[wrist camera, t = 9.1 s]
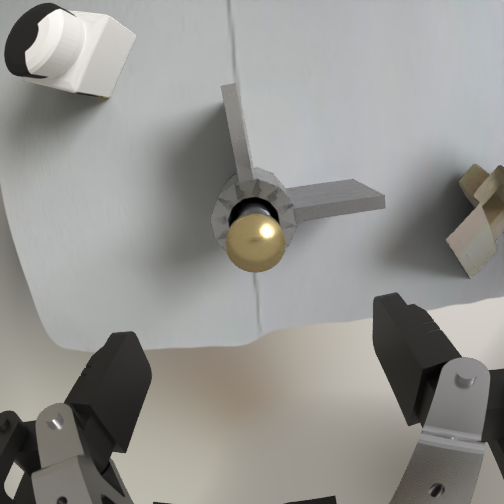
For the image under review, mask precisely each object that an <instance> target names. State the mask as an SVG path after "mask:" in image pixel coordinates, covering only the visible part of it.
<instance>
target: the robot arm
mask: <svg viewBox="0 0 504 504" xmlns="http://www.w3.org/2000/svg"><path fill="white" fill-rule="evenodd" d="M373 345H374V349H375V353H376V355H377V357H378V359H379V361H380V363H381V366H382V368H383V370H384V372H385V374H386V376H387V378H388V381H389V383H390V385H391V387H392V390H393V392H394V394H395V396H396V398H397V401H398V403H399V406H400V408H401V410H402V412H403V415H404V417H405V419H406V422H407V424H408V426H411V425H414V424H417V423H421V426H422V428H423V430H422V432H421V435H420V437H419V440H418V442H417V445H416V447H415V450H414V452H413V454H412V457H411V459H410V461H409V464H408V466H407V469H406V470H405V473H404V475H403V477H402V479H401V481H400V484H399V485H398V487H397V489H396V491H395V493H394V495H393V497H392V499H391V501H390V503H389V504H470V502H471V499H472V496H473V493H474V490H475V486H476V483H477V480H478V476H479V472H480V468H481V464H482V460H483V456H484V451H485V442H488V444H489V446H490V448H491V451H492V453H493V455H494V457H495V460H496V462H497V464H498V467H499V469H500V471H501V474H502V476H503V479H504V369H497V370H488V369H487V367H486V366H485V365H484V364H483V363H481V362H480V361H478V360H475V359H473V358H466V357H462V356H461V355H460V354H459V352H458V351H457V350H456V348H455V347H454V346H453V344H452V343H451V342H450V340H449V339H448V338H447V337H446V335H445V334H444V333H443V331H441V330H440V328H439V326H438V325H437V324H436V323H435V322H434V320H433V319H432V318H431V316H430V315H429V314H428V313H427V311H426V310H424V309H422V308H420V307H418V306H417V305H415V304H411V305H407V304H406V303H405V301H404V300H403V299H402V298H401V296H400V295H399V294H398V293H391V294H386V295H382V296H377V297H375V298H374V302H373ZM151 379H152V373H151V368H150V364H149V362H148V360H147V358H146V356H145V354H144V351H143V349H142V347H141V345H140V342H139V340H138V338H137V336H136V334H135V333H134V332H132V331H129V332H117V333H112V334H111V335H110V337H109V338H108V340H107V342H106V343H105V345H104V346H103V347H102V348H101V349H99V350H98V351H97V352H96V353H95V354H94V355H93V356H92V357H91V359H90V360H89V362H88V363H87V365H86V368H84V370H83V371H82V373H81V376H79V378H78V380H77V381H76V383H75V385H74V386H73V388H72V390H71V391H70V393H69V395H68V397H67V398H66V400H65V402H64V403H56V404H53V405H51V406H48V407H47V408H45V409H44V410H43V411H42V412H41V413H40V414H39V416H38V418H37V420H36V421H29V422H22V421H21V419H20V418H19V417H18V415H17V414H16V413H15V412H13V411H4V412H2V413H0V504H134V503H133V501H132V500H131V497H130V495H129V494H128V491H127V489H126V488H125V486H124V483H123V481H122V479H121V477H120V475H119V473H118V470H117V468H116V466H115V464H114V462H113V460H112V459H111V458H110V456H111V454H112V452H119V453H126V451H127V448H128V446H129V442H130V440H131V437H132V434H133V431H134V428H135V425H136V422H137V419H138V417H139V414H140V410H141V408H142V405H143V403H144V400H145V397H146V394H147V391H148V389H149V386H150V383H151ZM13 462H15V463H16V464H17V465H18V466H19V467H20V468H21V469H22V470H23V471H24V475H23V477H22V479H21V482H20V484H19V487H18V489H17V492H16V494H15V496H14V499H13V500H12V499H11V498H10V497H9V496H8V495H7V494H6V492H5V489H4V482H5V480H6V477H7V475H8V473H9V471H10V468H11V466H12V464H13ZM153 504H169V503H158V502H153ZM285 504H337V503H336V498H335V496H330V497H324V498H319V499H312V500H305V501H297V502H289V503H285Z"/></svg>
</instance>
